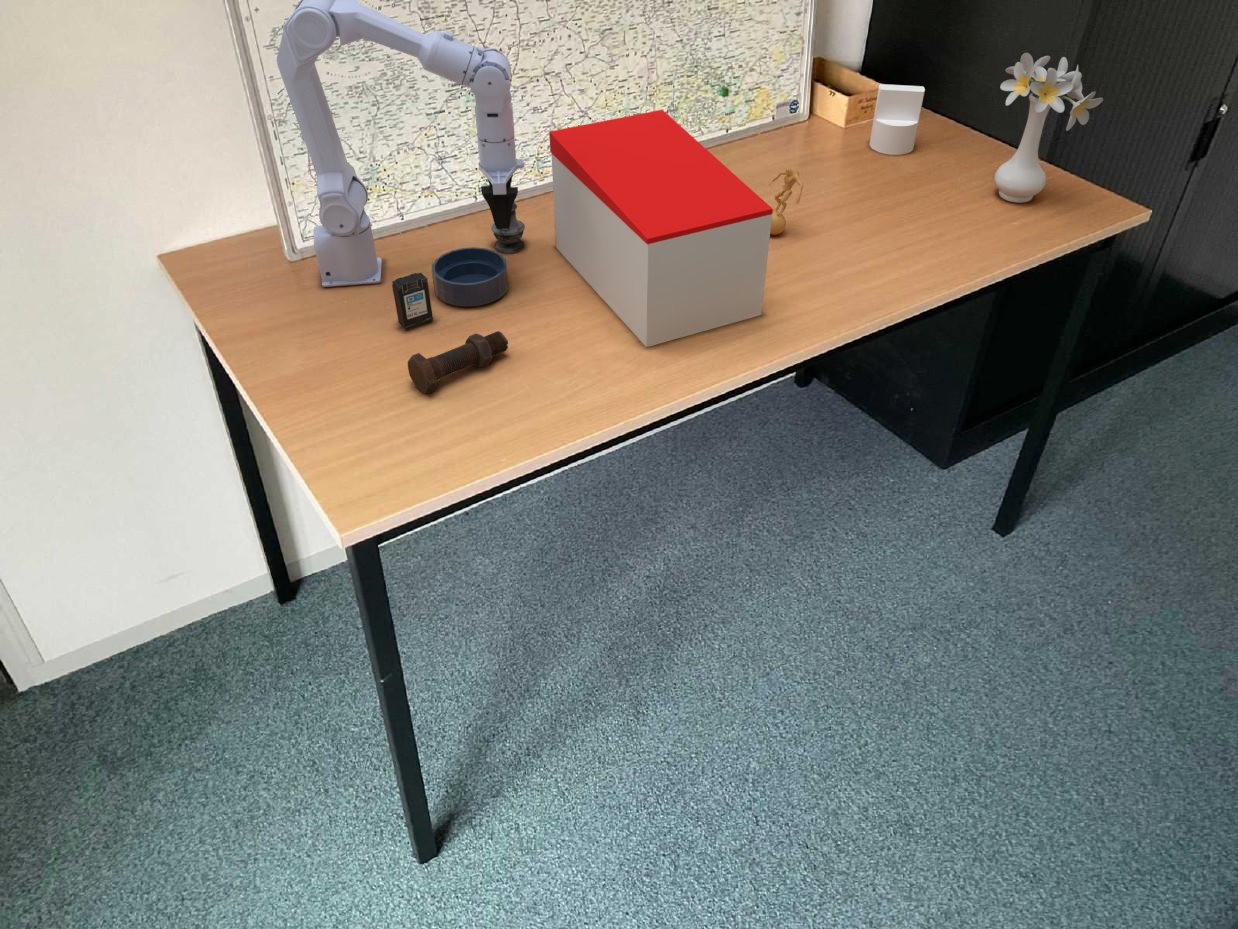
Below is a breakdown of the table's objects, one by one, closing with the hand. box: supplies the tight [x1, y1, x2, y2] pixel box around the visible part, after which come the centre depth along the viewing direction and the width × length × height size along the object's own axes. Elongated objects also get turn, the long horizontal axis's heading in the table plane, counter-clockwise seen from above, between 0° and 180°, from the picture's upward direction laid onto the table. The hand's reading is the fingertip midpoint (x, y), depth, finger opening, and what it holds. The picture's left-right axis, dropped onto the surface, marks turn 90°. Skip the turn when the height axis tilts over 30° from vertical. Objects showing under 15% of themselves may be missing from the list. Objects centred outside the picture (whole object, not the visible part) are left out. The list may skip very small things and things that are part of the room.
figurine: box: [768, 167, 804, 236], centre depth 176 cm, size 8×6×12 cm
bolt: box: [407, 330, 509, 395], centre depth 147 cm, size 6×5×15 cm
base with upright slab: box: [868, 83, 926, 156], centre depth 205 cm, size 9×9×12 cm
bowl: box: [431, 246, 509, 307], centre depth 164 cm, size 12×12×4 cm
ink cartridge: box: [391, 272, 434, 331], centre depth 155 cm, size 5×2×8 cm, turn 123°
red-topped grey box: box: [548, 109, 774, 348], centre depth 161 cm, size 21×35×21 cm, turn 26°
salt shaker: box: [490, 202, 526, 254], centre depth 173 cm, size 6×6×12 cm
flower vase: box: [993, 52, 1104, 204], centre depth 182 cm, size 13×18×25 cm
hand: (502, 216), depth 164 cm, fingers open, 7 cm apart
